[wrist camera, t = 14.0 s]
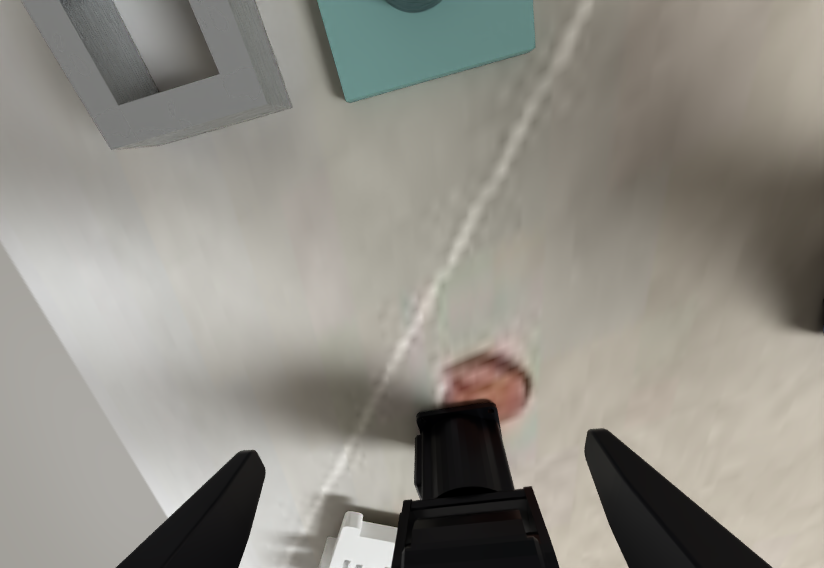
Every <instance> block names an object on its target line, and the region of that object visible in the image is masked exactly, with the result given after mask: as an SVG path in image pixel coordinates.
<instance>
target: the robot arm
mask: <svg viewBox="0 0 824 568" xmlns="http://www.w3.org/2000/svg"><path fill="white" fill-rule="evenodd" d="M417 424H418V427H419V431H420V435H417V436H416V438H415V469H414V485H415V487H416V490H417V493H418V495H419V498H420V500H416V501H412V499H411V500H404V501H403V507H402V513H400V517H399V523H398V529H397V535H396V541H395V547H394V553H393V558H392V564H391V568H559V565H558V561H557V558H556V555H555V552H554V549H553V546H552V543H551V540H550V537H549V534H548V531H547V529H546V526H545V523H544V520H543V517H542V514H541V512H540V509H539V506H538V503H537V500H536V497H535V495H534V492H533V489H532V486H529V487H523V489H516V490H515V489H514V485H513V481H512V477H511V473H510V469H509V465H508V461H507V457H506V453H505V449H504V445H503V441H502V435H501V429H500V423H499V417H498V411H497V407H496V404H494V403H483V404H476V405H469V406H462V407H455V408H448V409H441V410H435V411H428V412H421V413H419V414H417ZM584 452H585V458H586V461H587V464H588V467H589V469H590V472H591V475H592V478H593V481H594V483H595V486H596V489H597V492H598V495H599V497H600V500H601V503H602V506H603V509H604V511H605V514H606V517H607V520H608V522H609V525H610V527H611V530H612V532H613V534H614V536H615V539H616V541H617V543H618V545H619V547H620V549H621V552H622V554H623V556H624V558H625V560H626V562H627V564H628V567H629V568H772V567H771V566H770V565H769V564H768V563H766V562H765V561H764V560H763V559H762V558H761V557H759V556H758V555H757V554H756V553H755V552H753V551H752V550H751V549H750V548H749V547H747V546H746V545H745V544H744V543H743V542H741V541H740V540H739V539H738V538H737V537H735V536H734V535H733V534H732V533H731V532H729V531H728V530H727V529H726V528H725V527H723V526H722V525H721V524H720V523H719V522H717V521H716V520H715V519H714V518H713V517H711V516H710V515H709V514H708V513H707V512H705V511H704V510H703V509H702V508H701V507H699V506H698V505H697V504H696V503H695V502H693V501H692V500H691V499H690V498H689V497H687V496H686V495H685V494H684V493H683V492H681V491H680V490H679V489H678V488H677V487H675V486H674V485H673V484H672V483H671V482H669V481H668V480H667V479H666V478H665V477H663V476H662V475H661V474H660V473H659V472H657V471H656V470H655V469H654V468H653V467H651V466H650V465H649V464H648V463H647V462H645V461H644V460H643V459H642V458H641V457H639V456H638V455H637V454H636V453H635V452H633V451H632V450H631V449H630V448H629V447H627V446H626V445H625V444H624V443H623V442H621V441H620V440H619V439H618V438H617V437H615V436H614V435H613V434H612V433H611V432H609V431H608V430H606V429H603V428H600V429H590V430H588V432H587V437H586V443H585V450H584ZM264 479H265V467H264V465H263V463H262V461H261V459H260V457H259V455H258V453H257V452H256V451H255V450H243V451H240V452H238V453H237V454H236V455H235V456H234V457H233V458H232V459H230V460H229V461H228V462H227V463H226V464H225V465H224V466H223V467H222V468H221V469H220V470H219V471H218V472H217V473H216V474H215V475H214V476H212V477H211V478H210V479H209V480H208V481H207V482H206V483H205V484H204V485H203V486H202V487H201V488H200V489H199V490H198V491H197V492H195V493H194V494H193V495H192V496H191V497H190V498H189V499H188V500H187V501H186V502H185V503H184V504H183V505H182V506H181V507H180V508H179V509H177V510H176V511H175V512H174V513H173V514H172V515H171V516H170V517H169V518H168V519H167V520H166V521H165V522H164V523H163V524H162V525H161V526H159V527H158V528H157V529H156V530H155V531H154V532H153V533H152V534H151V535H150V536H149V537H148V538H147V539H146V540H145V541H144V542H143V543H141V544H140V545H139V546H138V547H137V548H136V549H135V550H134V551H133V552H132V553H131V554H130V555H129V556H128V557H127V558H126V559H125V560H123V561H122V562H121V563H120V564H119V565H118V566H117V567H116V568H238V567H239V564H240V561H241V559H242V556H243V553H244V550H245V547H246V544H247V541H248V538H249V535H250V531H251V528H252V524H253V520H254V517H255V513H256V509H257V505H258V502H259V498H260V494H261V490H262V486H263V483H264Z"/></svg>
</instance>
